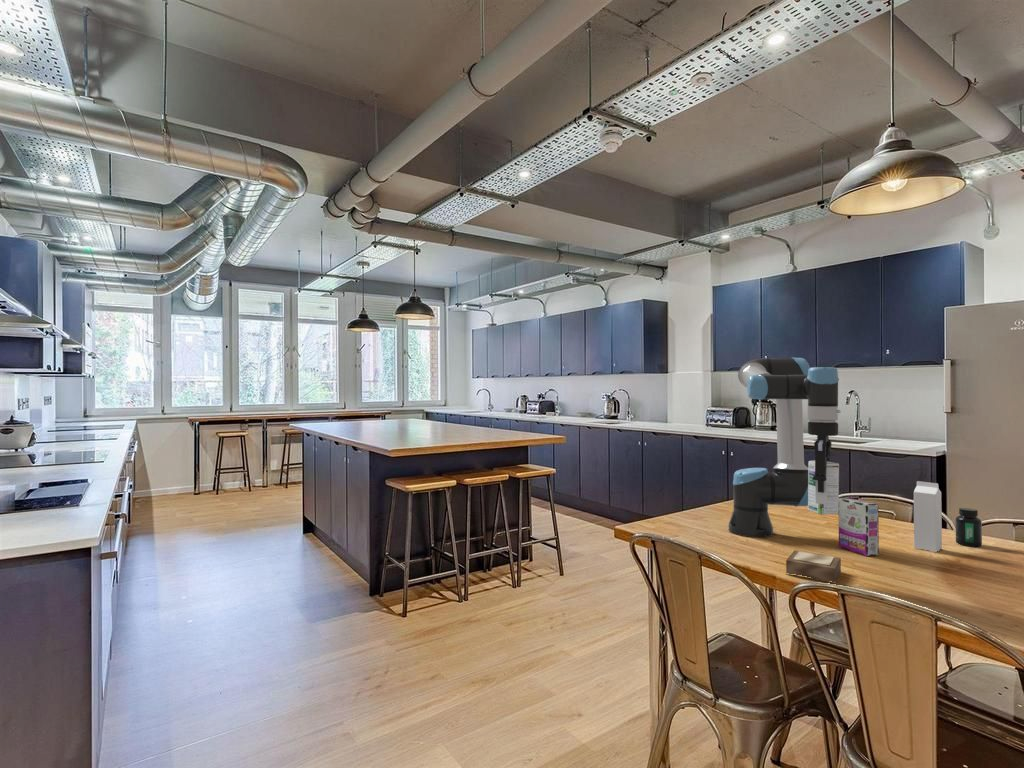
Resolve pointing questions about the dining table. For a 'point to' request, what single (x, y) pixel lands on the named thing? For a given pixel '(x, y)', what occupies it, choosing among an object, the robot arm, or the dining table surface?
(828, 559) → the plinth
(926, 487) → the milk
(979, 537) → the supplement bottle
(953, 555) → the dining table surface
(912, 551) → the dining table surface
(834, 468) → the syrup box
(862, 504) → the candy bar box
